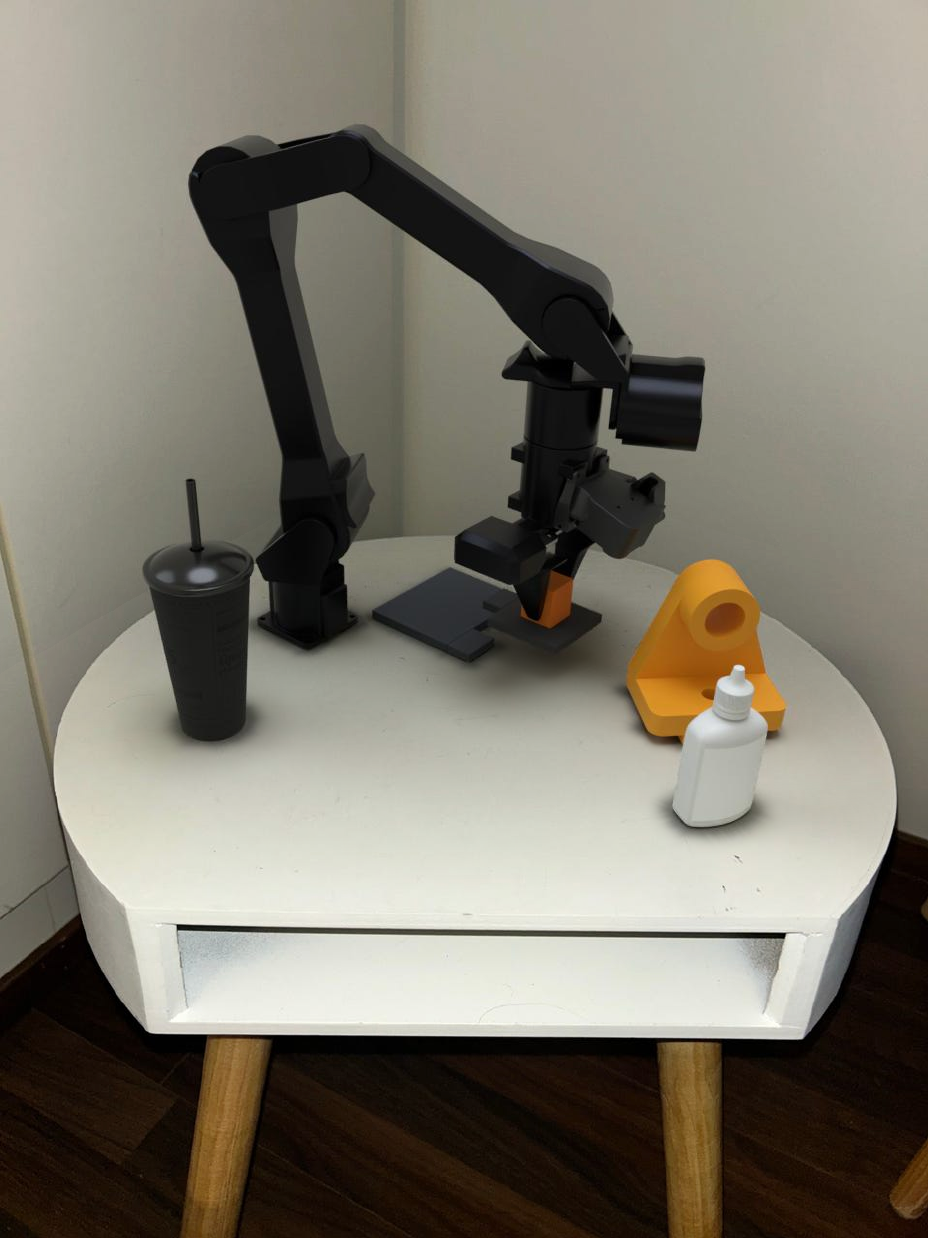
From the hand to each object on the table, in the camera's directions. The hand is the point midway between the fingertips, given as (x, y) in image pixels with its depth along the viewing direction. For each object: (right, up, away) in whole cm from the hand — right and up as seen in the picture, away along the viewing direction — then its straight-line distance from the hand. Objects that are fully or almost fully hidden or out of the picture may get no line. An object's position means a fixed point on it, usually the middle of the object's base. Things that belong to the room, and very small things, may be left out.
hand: (545, 611), depth 93 cm
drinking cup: (-26, -9, -8) cm, 29 cm away
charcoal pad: (-7, 0, +7) cm, 10 cm away
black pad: (0, -1, +1) cm, 1 cm away
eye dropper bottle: (+11, -14, -15) cm, 23 cm away
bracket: (+12, -8, -5) cm, 16 cm away
